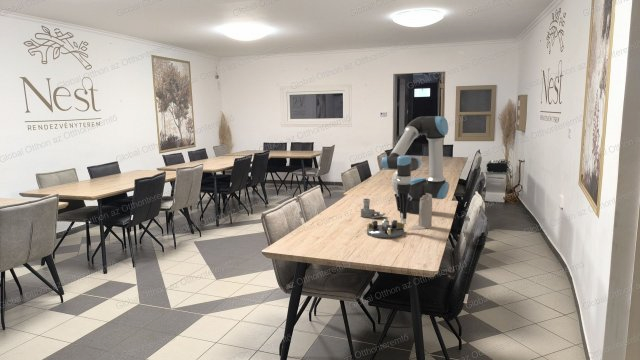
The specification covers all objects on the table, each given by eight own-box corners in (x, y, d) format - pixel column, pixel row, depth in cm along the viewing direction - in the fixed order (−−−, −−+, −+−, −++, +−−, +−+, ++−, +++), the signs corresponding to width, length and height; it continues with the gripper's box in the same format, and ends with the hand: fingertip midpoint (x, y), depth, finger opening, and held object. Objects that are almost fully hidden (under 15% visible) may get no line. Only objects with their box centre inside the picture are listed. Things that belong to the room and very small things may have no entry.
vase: (388, 192, 354) (389, 166, 351) (407, 191, 356) (408, 165, 352) (394, 196, 338) (394, 168, 335) (413, 195, 340) (414, 168, 337)
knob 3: (390, 227, 241) (390, 220, 240) (392, 226, 244) (393, 219, 243) (403, 229, 237) (403, 222, 236) (405, 228, 239) (405, 220, 238)
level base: (400, 227, 249) (400, 214, 248) (407, 238, 228) (408, 223, 227) (364, 228, 249) (364, 215, 247) (369, 239, 228) (369, 224, 227)
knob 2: (384, 231, 233) (384, 224, 233) (389, 231, 233) (389, 224, 233) (386, 235, 226) (386, 228, 225) (392, 235, 226) (392, 227, 225)
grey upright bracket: (407, 227, 249) (407, 194, 246) (426, 224, 254) (427, 192, 251) (414, 230, 243) (414, 196, 239) (434, 227, 248) (434, 194, 245)
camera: (364, 197, 279) (385, 199, 272) (364, 214, 281) (385, 217, 274) (359, 200, 272) (381, 202, 265) (359, 217, 274) (381, 220, 267)
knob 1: (374, 226, 244) (374, 219, 243) (378, 227, 241) (378, 220, 240) (365, 229, 238) (365, 222, 238) (369, 230, 236) (369, 223, 235)
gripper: (391, 182, 240) (390, 222, 244) (406, 185, 229) (405, 227, 233) (401, 181, 244) (400, 220, 248) (416, 184, 233) (416, 225, 237)
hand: (403, 223), depth 240 cm, fingers closed
